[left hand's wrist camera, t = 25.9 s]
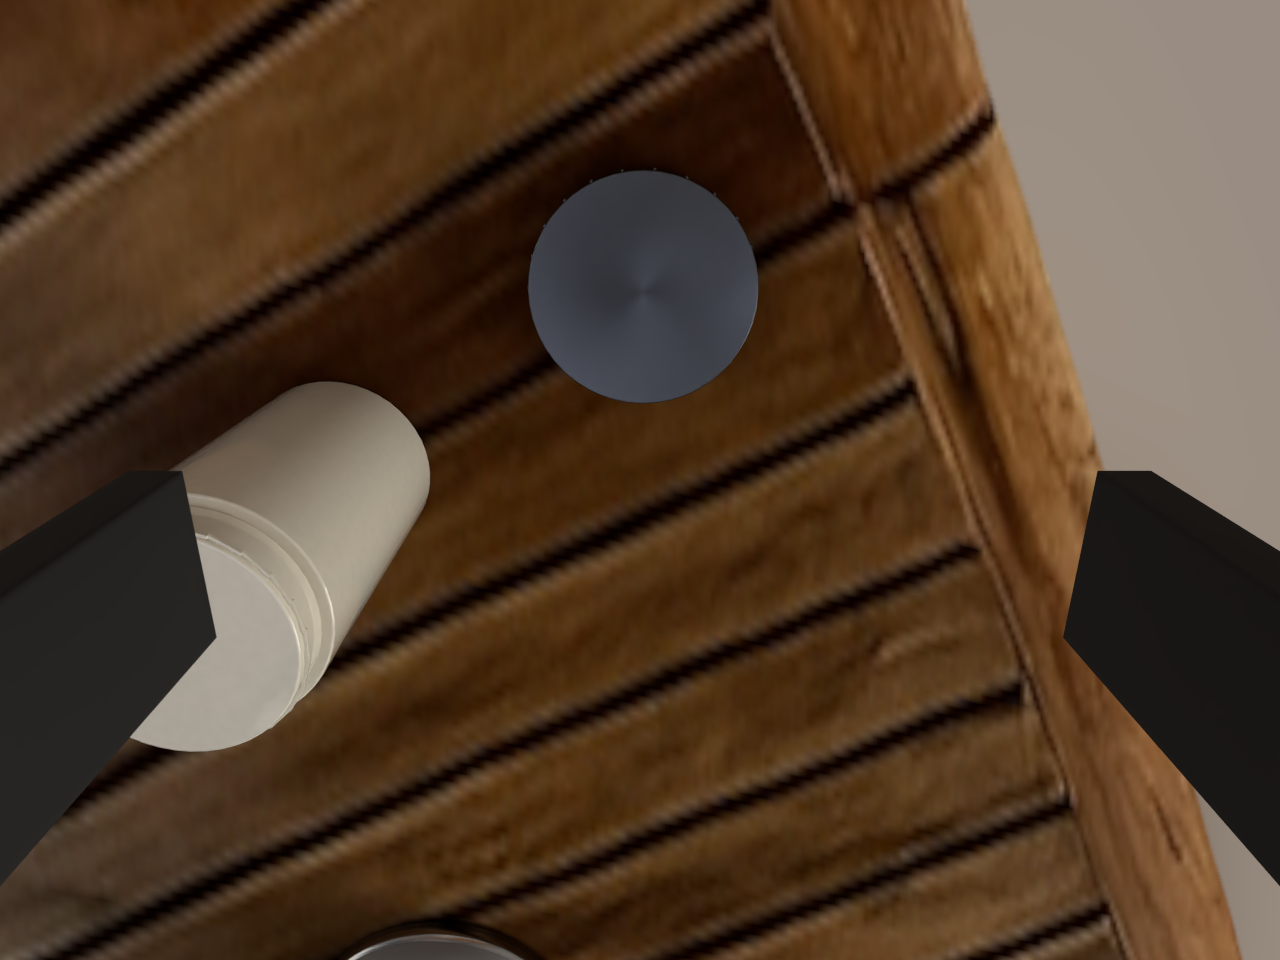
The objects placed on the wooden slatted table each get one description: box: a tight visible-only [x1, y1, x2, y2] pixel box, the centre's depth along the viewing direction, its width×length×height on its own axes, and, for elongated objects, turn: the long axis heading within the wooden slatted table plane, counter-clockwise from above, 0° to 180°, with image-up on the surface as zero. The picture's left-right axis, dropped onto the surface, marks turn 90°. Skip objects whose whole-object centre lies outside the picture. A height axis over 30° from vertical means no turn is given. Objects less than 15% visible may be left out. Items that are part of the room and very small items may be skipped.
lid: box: [527, 167, 759, 403], centre depth 35 cm, size 9×9×2 cm
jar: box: [130, 382, 430, 751], centre depth 32 cm, size 8×8×15 cm
